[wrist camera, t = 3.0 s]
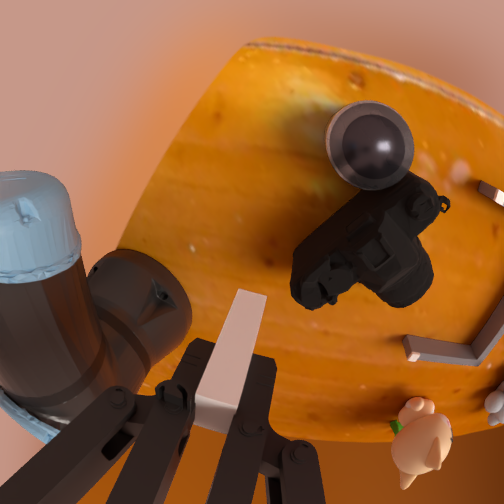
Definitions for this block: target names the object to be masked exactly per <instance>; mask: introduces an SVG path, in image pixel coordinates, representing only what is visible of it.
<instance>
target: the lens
mask: <svg viewBox="0 0 504 504" xmlns="http://www.w3.org/2000/svg"><path fill="white" fill-rule="evenodd" d="M324 141H325V147H326V150H327V154H328V157H329V160H330V162H331V164H332V166H333V167H334V169H335V170H336V172H337V173H338V174H339V175H340V176H341V177H342V178H343V179H344V180H345V181H347V182H348V183H349V184H351V185H353V186H355V187H358V188H361V189H365V190H380V189H384V188H387V187H390V186H392V185H394V184H396V183H397V182H399V181H400V180H401V179H402V178H403V177H404V176H405V175H406V173H407V172H408V170H409V168H410V166H411V163H412V161H413V156H414V142H413V137H412V134H411V131H410V129H409V127H408V125H407V123H406V122H405V120H404V119H403V118H402V116H401V115H400V114H399V113H398V112H396V111H395V110H394V109H393V108H391V107H389V106H388V105H385V104H383V103H380V102H377V101H358V102H355V103H351V104H349V105H347V106H345V107H344V108H342V109H341V110H340V111H338V112H337V113H335V114H334V115H333V116H332V117H331V118H330V120H329V122H328V123H327V126H326V129H325V134H324Z"/></svg>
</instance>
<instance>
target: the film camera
mask: <svg viewBox="0 0 504 504" xmlns="http://www.w3.org/2000/svg"><path fill="white" fill-rule="evenodd" d="M442 203H445V204H446V205H447V208H446V210H443V209H444V208H443V207H441V205H442ZM449 208H450V200H449V199H448V198H447V197H445V196H444V195H443V196H438V195H437V192H436V191H435V189H434V188H433V187H432V185H431V184H430V183H429V182H428V181H426V180H424V179H423V178H421V177H419V176H417V175H415V174H414V173H412V172H410V171H409V170H408V172H407V173H406V175H405V176H404V177H403V178H402V179H401V180H400V181H399V182H397V183H396V184H394V185H392V186H390V187H387V188H384V189H380V190H365V189H363V190H362V191H360V192H359V193H358V194H357V195H356V196H355V197H354V198H352V199H351V200H350V201H349V202H348V203H346V204H345V205H344V206H343V207H342V208H340V209H339V210H338V211H337V212H336V213H335V214H334V215H332V216H331V217H330V218H329V219H328V220H326V221H325V222H324V223H323V224H322V225H321V226H319V227H318V228H317V229H316V230H315V231H314V232H313V233H312V234H310V235H309V236H308V237H307V238H306V239H305V240H304V241H303V242H302V243H301V244H300V245H299V246H298V247H297V248H296V249H295V251H294V253H293V265H292V273H291V279H290V289H291V296H292V297H293V298H294V300H295V301H296V302H298V303H299V304H300V305H302V306H304V307H305V309H309V310H311V311H313V310H314V309H317V308H321V307H322V306H323V305H324V304H326V303H329V304H330V305H334V304H336V302H338V301H337V297H338V295H339V294H341V293H344V292H346V291H348V290H349V289H350V287H351V286H352V285H354V284H355V283H357V282H359V283H362V284H363V285H364V286H366V287H367V288H368V289H370V290H372V291H373V292H374V293H376V295H377V296H378V297H379V298H380V299H381V300H382V301H384V302H387V303H388V305H390V306H392V307H395V308H404V307H406V306H409V305H411V304H413V303H414V302H416V301H417V300H419V299H420V298H421V297H422V296H423V295H424V294H425V292H426V291H427V290H428V289H429V288H430V286H431V284H432V281H433V277H434V273H433V269H432V265H431V261H430V258H429V256H428V254H427V253H426V251H425V250H424V248H423V247H422V244H421V242H420V240H419V238H418V237H417V235H419V234H420V233H421V232H422V231H423V230H424V229H425V228H426V227H427V226H428V225H430V224H431V223H433V222H434V220H435V218H436V217H437V216H438V214H439V212H440V211H441V212H443V213H445V212H446V211H447V210H448V209H449Z"/></svg>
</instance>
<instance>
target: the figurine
mask: <svg viewBox="0 0 504 504" xmlns="http://www.w3.org/2000/svg"><path fill="white" fill-rule="evenodd" d="M484 406H485V409H486V411H488V412H490V414H489V416H488V423H489V425H491V426H494V425H496V424H498V423H503V424H504V381H503V382H502V383H501V384H500V385H499V386H498V387H497V389H496V390H495V391H493V392H491V393H490V394H489V395H488V396H487V398H486V399H485V403H484Z"/></svg>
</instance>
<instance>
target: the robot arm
mask: <svg viewBox="0 0 504 504" xmlns="http://www.w3.org/2000/svg"><path fill="white" fill-rule="evenodd" d="M266 299H267V296H265V295H261V294H257V293H254V292H250V291H246V290H242V289H238V291H237V294H236V296H235V299H234V301H233V304H232V306H231V308H230V311H229V313H228V316H227V318H226V321H225V323H224V325H223V328H222V330H221V333H220V335H219V338H218V340H217V343H213V342H209V341H206V340H203V339H200V338H196V339H195V340H194V341H192V342H191V343H190V344H189V345H188V347H187V349H186V351H185V353H184V355H183V357H182V359H181V361H180V363H179V365H178V366H177V368H176V370H175V372H174V374H173V376H172V378H171V380H165V381H163V382H161V383H159V384H158V385H157V386H156V387H155V392H156V395H153V396H145V395H137V392H138V391H139V389H140V387H141V385H142V383H143V382H144V379H145V378H146V376H147V374H148V372H149V371H150V369H151V368H152V367H153V366H154V365H155V364H156V363H158V362H159V361H160V360H162V359H163V358H164V357H165V356H167V355H168V354H169V353H170V352H172V351H173V350H174V349H175V348H177V347H178V346H179V345H180V344H181V342H182V341H183V340H184V338H185V336H186V334H187V332H188V330H189V328H190V326H191V322H192V310H191V305H190V302H189V299H188V297H187V295H186V293H185V291H184V289H183V287H182V286H181V284H180V283H179V282H178V280H177V279H176V278H175V277H174V276H173V275H172V274H171V273H170V272H169V271H168V270H167V269H166V268H165V267H164V266H163V265H161V264H160V263H159V262H157V261H156V260H154V259H153V258H151V257H149V256H147V255H145V254H142V253H140V252H137V251H133V250H124V249H122V250H115V251H112V252H110V253H108V254H106V255H105V256H104V257H103V258H101V259H100V260H99V261H98V262H97V263H96V264H95V265H94V266H93V267H92V269H91V270H90V272H89V274H88V277H86V273H85V269H84V265H83V261H82V256H81V237H80V234H79V233H78V231H77V229H76V227H75V222H74V218H73V213H72V208H71V203H70V198H69V194H68V192H67V190H66V188H65V186H64V185H63V184H62V183H61V182H60V181H59V180H58V179H57V178H55V177H53V176H51V175H49V174H46V173H42V172H37V171H25V170H23V171H22V170H20V171H6V172H0V407H1V408H2V409H3V410H4V411H5V412H6V413H7V414H8V415H9V416H10V417H11V418H13V419H14V420H15V421H16V422H17V423H18V424H20V425H21V426H22V427H23V428H24V429H26V430H27V431H28V432H30V433H31V434H32V435H34V436H35V437H36V438H38V439H39V440H41V441H42V442H44V443H45V444H46V445H45V446H44V447H43V448H42V449H41V450H40V451H39V452H38V453H37V454H36V455H34V456H33V457H32V458H31V459H30V460H29V461H28V462H27V463H26V464H25V465H24V466H23V467H21V468H20V469H19V470H18V471H17V472H16V473H15V474H14V475H13V476H12V477H11V478H9V480H7V481H6V482H5V483H4V484H3V485H2V486H1V487H0V504H76V503H77V502H78V501H79V500H80V499H81V498H82V497H83V496H84V495H85V494H86V493H87V492H88V491H89V490H90V489H91V488H92V487H93V486H94V485H95V484H96V483H97V482H98V481H99V480H100V479H101V478H102V476H103V475H104V474H105V473H106V472H107V471H108V470H109V469H110V468H111V467H112V466H113V465H114V464H115V463H116V461H118V459H119V458H120V457H121V456H122V455H123V454H124V453H125V452H126V451H127V449H129V447H130V446H131V445H132V444H133V443H134V442H135V441H136V442H135V444H134V446H133V448H132V450H131V452H130V454H129V456H128V458H127V460H126V462H125V464H124V466H123V468H122V471H121V472H120V475H119V477H118V479H117V481H116V483H115V485H114V487H113V489H112V491H111V493H110V495H109V498H108V500H107V502H106V504H163V503H164V501H165V498H166V496H167V493H168V491H169V488H170V486H171V483H172V480H173V478H174V475H175V473H176V470H177V467H178V465H179V462H180V460H181V457H182V454H183V452H184V449H185V447H186V444H187V442H188V439H189V436H190V430H191V427H192V425H193V422H194V425H197V426H201V427H204V428H207V429H210V430H214V431H217V432H221V433H224V434H227V438H226V441H225V444H224V447H223V449H222V453H221V457H220V460H219V463H218V466H217V469H216V472H215V476H214V479H213V482H212V485H211V488H210V491H209V494H208V497H207V500H206V503H205V504H251V503H252V499H253V494H254V490H255V486H256V482H257V477H258V473H261V474H263V475H265V483H266V495H267V504H326V502H325V496H324V490H323V484H322V478H321V472H320V467H319V461H318V455H317V452H316V449H315V447H313V445H312V444H311V443H309V442H307V441H304V440H294V441H290V440H288V439H286V438H284V437H282V436H280V435H279V434H277V433H276V432H275V431H274V430H273V429H272V428H271V426H270V424H269V420H268V415H269V410H270V405H271V399H272V394H273V389H274V383H275V378H276V372H277V367H276V364H275V360H274V359H273V358H269V357H265V356H261V355H257V354H253V350H254V346H255V342H256V338H257V334H258V330H259V327H260V323H261V319H262V315H263V311H264V307H265V303H266Z"/></svg>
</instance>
